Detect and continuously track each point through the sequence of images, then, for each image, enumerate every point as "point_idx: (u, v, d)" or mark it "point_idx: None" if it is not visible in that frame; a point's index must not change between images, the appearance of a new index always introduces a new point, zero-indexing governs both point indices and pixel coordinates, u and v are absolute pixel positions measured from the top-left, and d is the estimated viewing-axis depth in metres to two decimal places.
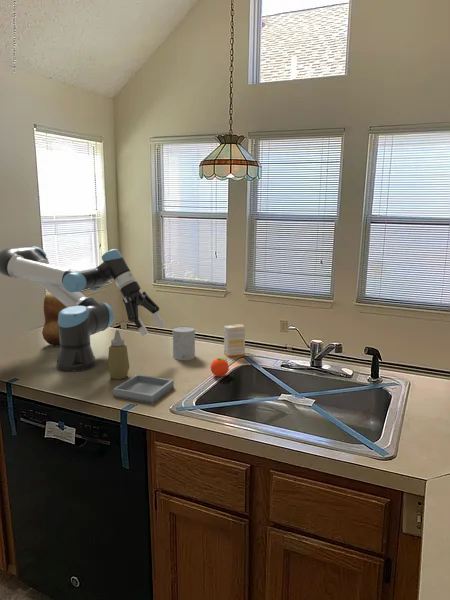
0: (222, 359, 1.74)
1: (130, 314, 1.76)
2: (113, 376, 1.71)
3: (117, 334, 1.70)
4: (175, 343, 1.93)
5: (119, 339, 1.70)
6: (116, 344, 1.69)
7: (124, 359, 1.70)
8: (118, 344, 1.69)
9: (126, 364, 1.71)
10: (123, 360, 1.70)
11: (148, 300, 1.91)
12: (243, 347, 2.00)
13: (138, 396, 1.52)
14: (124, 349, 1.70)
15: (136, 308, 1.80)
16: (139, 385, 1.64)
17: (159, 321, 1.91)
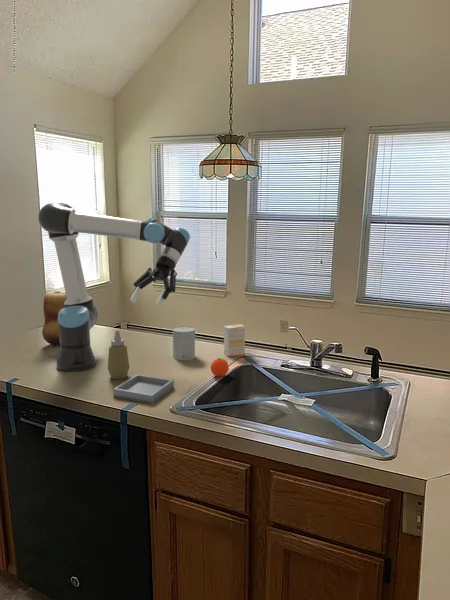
0: (222, 359, 1.74)
1: (174, 286, 1.79)
2: (113, 376, 1.71)
3: (117, 334, 1.70)
4: (175, 343, 1.93)
5: (119, 339, 1.70)
6: (116, 344, 1.69)
7: (124, 359, 1.70)
8: (118, 344, 1.69)
9: (126, 364, 1.71)
10: (123, 360, 1.70)
11: (147, 278, 1.89)
12: (243, 347, 2.00)
13: (138, 396, 1.52)
14: (124, 349, 1.70)
15: None
16: (139, 385, 1.64)
17: (136, 297, 1.84)
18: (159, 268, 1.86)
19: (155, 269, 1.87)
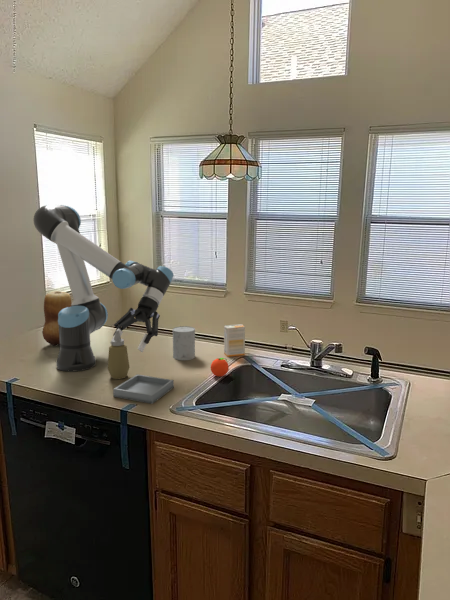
0: (222, 359, 1.74)
1: (156, 330, 1.73)
2: (113, 376, 1.71)
3: (117, 334, 1.70)
4: (175, 343, 1.93)
5: (119, 339, 1.70)
6: (116, 344, 1.69)
7: (124, 359, 1.70)
8: (118, 344, 1.69)
9: (126, 364, 1.71)
10: (123, 360, 1.70)
11: (128, 318, 1.82)
12: (243, 347, 2.00)
13: (138, 396, 1.52)
14: (124, 349, 1.70)
15: None
16: (139, 385, 1.64)
17: None
18: (141, 309, 1.80)
19: (137, 310, 1.81)
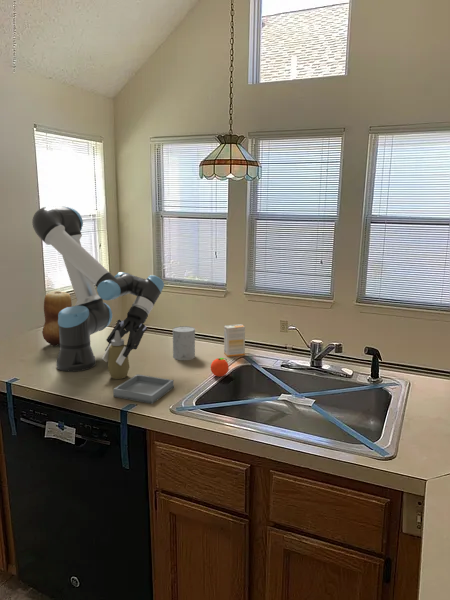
0: (222, 359, 1.74)
1: (137, 343, 1.71)
2: (113, 376, 1.71)
3: (117, 334, 1.70)
4: (175, 343, 1.93)
5: (119, 339, 1.70)
6: (116, 344, 1.69)
7: None
8: (118, 344, 1.69)
9: (126, 364, 1.71)
10: None
11: None
12: (243, 347, 2.00)
13: (138, 396, 1.52)
14: None
15: None
16: (139, 385, 1.64)
17: (108, 354, 1.73)
18: (130, 317, 1.78)
19: (126, 319, 1.78)
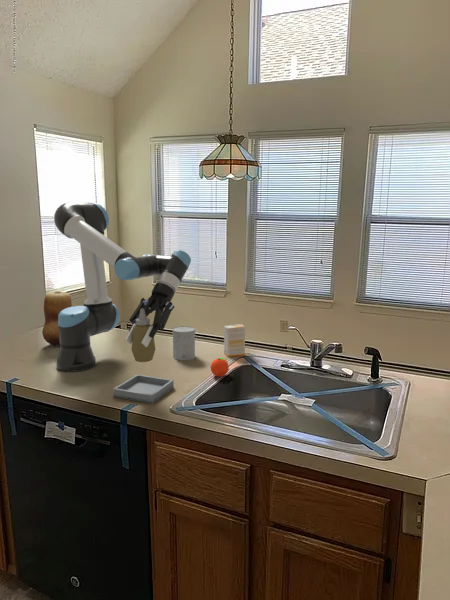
0: (222, 359, 1.74)
1: (164, 323, 1.55)
2: (138, 359, 1.55)
3: (142, 312, 1.54)
4: (175, 343, 1.93)
5: (144, 318, 1.54)
6: (141, 323, 1.53)
7: (150, 340, 1.54)
8: (143, 323, 1.53)
9: (152, 346, 1.55)
10: None
11: None
12: (243, 347, 2.00)
13: (138, 396, 1.52)
14: None
15: None
16: (139, 385, 1.64)
17: (132, 335, 1.56)
18: (155, 295, 1.62)
19: (150, 297, 1.62)
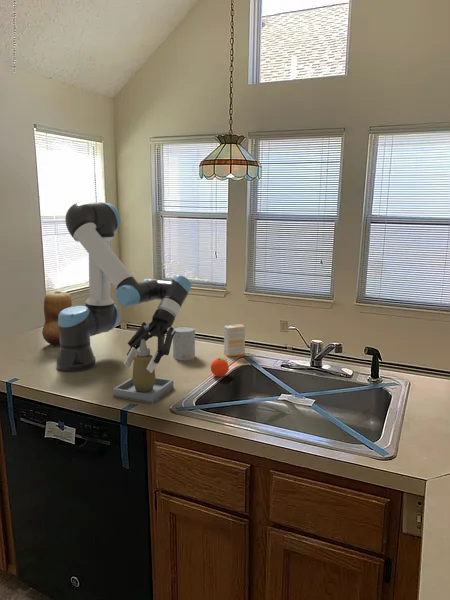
0: (222, 359, 1.74)
1: (168, 348, 1.56)
2: (139, 388, 1.57)
3: (143, 343, 1.56)
4: (175, 343, 1.93)
5: (145, 348, 1.56)
6: (142, 354, 1.55)
7: None
8: (144, 354, 1.55)
9: (152, 376, 1.57)
10: None
11: (142, 334, 1.65)
12: (243, 347, 2.00)
13: (138, 396, 1.52)
14: (150, 359, 1.56)
15: None
16: None
17: (130, 359, 1.59)
18: (156, 321, 1.63)
19: (151, 323, 1.64)
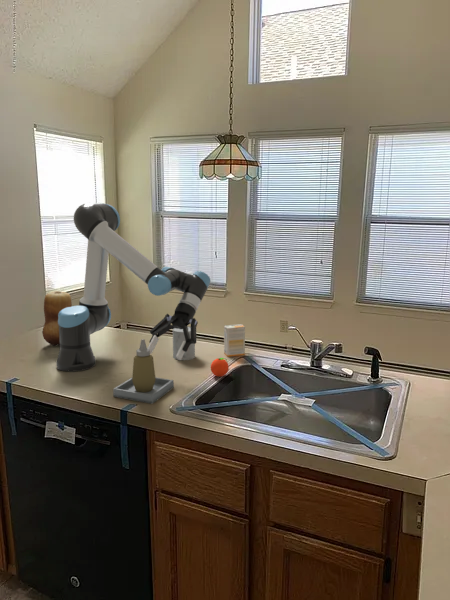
0: (222, 359, 1.74)
1: (195, 337, 1.67)
2: (139, 389, 1.57)
3: (143, 343, 1.56)
4: (175, 343, 1.93)
5: (145, 349, 1.56)
6: (142, 354, 1.55)
7: (150, 370, 1.56)
8: (144, 354, 1.55)
9: (152, 376, 1.57)
10: (149, 372, 1.56)
11: (164, 325, 1.76)
12: (243, 347, 2.00)
13: (138, 396, 1.52)
14: (150, 360, 1.56)
15: None
16: None
17: (153, 346, 1.71)
18: (178, 315, 1.74)
19: (174, 316, 1.75)
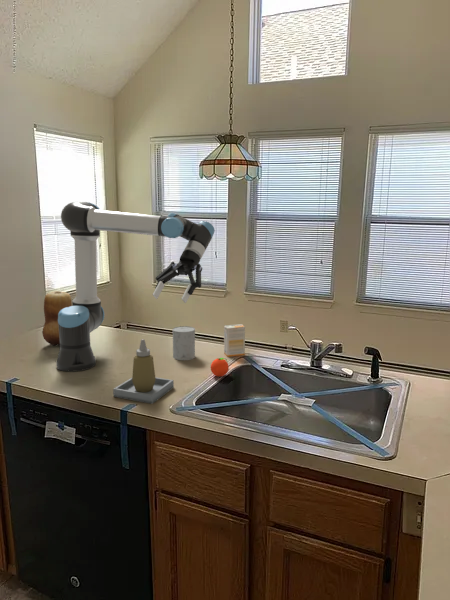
0: (222, 359, 1.74)
1: (200, 281, 1.71)
2: (139, 389, 1.57)
3: (143, 343, 1.56)
4: (175, 343, 1.93)
5: (145, 349, 1.56)
6: (142, 354, 1.55)
7: (150, 371, 1.56)
8: (144, 354, 1.55)
9: (152, 376, 1.57)
10: (149, 372, 1.56)
11: (169, 272, 1.81)
12: (243, 347, 2.00)
13: (138, 396, 1.52)
14: (150, 360, 1.56)
15: None
16: None
17: (158, 291, 1.76)
18: (183, 262, 1.78)
19: (179, 263, 1.79)
